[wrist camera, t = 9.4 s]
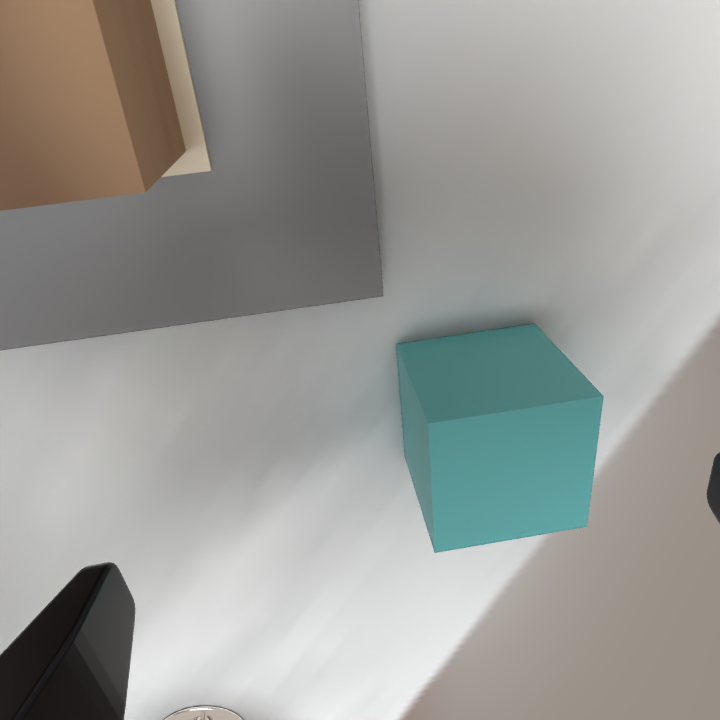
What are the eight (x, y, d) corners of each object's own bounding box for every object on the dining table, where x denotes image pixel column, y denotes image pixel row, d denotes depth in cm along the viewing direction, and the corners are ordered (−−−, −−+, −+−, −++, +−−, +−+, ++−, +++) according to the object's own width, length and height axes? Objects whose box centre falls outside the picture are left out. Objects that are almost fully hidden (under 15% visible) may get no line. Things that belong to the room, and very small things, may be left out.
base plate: (-133, 350, 18) (-171, 377, 16) (-606, -456, 10) (-761, -545, 8) (376, 279, 19) (384, 298, 17) (304, -504, 11) (308, -592, 9)
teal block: (404, 455, 22) (434, 552, 18) (395, 343, 20) (427, 423, 16) (527, 435, 23) (587, 526, 18) (533, 322, 20) (603, 396, 16)
